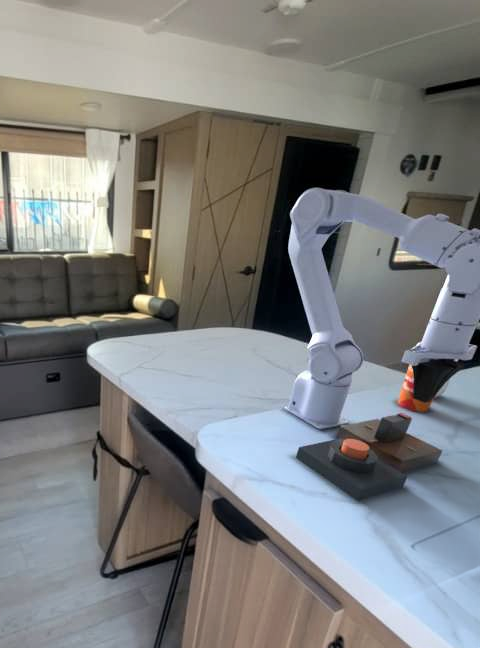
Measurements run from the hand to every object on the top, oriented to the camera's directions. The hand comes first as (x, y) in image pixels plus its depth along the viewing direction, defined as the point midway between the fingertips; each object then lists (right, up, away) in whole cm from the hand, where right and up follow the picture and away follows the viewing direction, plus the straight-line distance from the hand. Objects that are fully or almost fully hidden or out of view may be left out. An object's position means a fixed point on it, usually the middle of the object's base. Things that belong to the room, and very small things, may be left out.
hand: (421, 399), depth 69 cm
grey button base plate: (-14, -12, -2) cm, 18 cm away
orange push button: (-14, -9, -3) cm, 17 cm away
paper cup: (+16, -2, +22) cm, 27 cm away
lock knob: (-3, -7, +4) cm, 8 cm away
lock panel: (-3, -9, +5) cm, 11 cm away
